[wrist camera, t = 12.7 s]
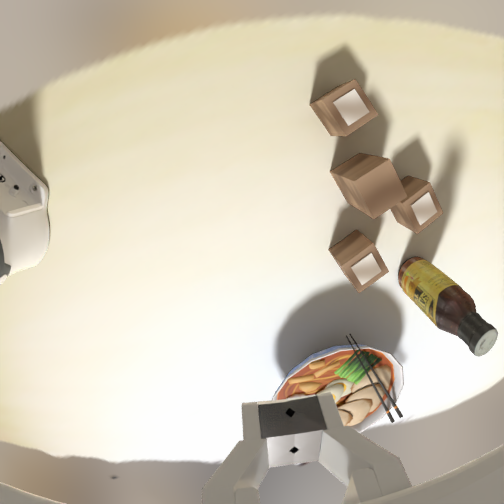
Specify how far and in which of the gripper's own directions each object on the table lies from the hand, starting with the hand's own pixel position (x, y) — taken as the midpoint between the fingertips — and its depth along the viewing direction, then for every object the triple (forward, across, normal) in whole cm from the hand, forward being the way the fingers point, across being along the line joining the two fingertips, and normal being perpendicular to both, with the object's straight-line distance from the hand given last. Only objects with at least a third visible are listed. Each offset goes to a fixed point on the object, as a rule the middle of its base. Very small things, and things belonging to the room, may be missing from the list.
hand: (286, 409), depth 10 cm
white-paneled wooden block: (+34, -23, +1) cm, 41 cm away
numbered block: (+34, -13, -12) cm, 38 cm away
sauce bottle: (+34, -26, +13) cm, 45 cm away
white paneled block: (+34, -15, +8) cm, 38 cm away
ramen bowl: (+34, -12, +31) cm, 48 cm away
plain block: (+34, -15, -2) cm, 37 cm away
